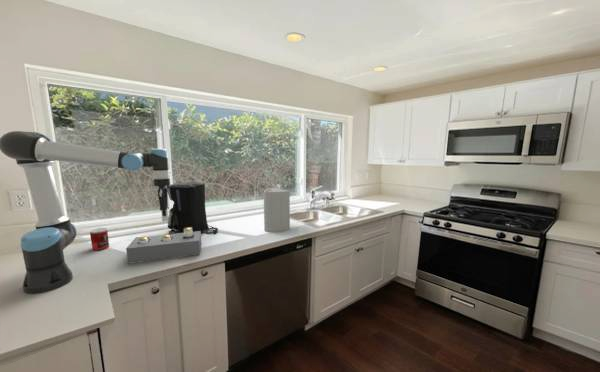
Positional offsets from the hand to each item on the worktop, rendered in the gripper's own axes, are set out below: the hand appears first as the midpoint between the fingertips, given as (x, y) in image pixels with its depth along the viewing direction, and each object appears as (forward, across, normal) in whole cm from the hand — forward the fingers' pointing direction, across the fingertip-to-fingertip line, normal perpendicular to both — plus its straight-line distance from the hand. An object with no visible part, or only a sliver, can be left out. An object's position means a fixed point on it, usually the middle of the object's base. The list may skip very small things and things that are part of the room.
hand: (165, 221), depth 136 cm
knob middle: (+16, 0, 0) cm, 16 cm away
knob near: (+16, 0, +11) cm, 19 cm away
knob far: (+13, 0, -11) cm, 17 cm away
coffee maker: (+19, +31, -9) cm, 37 cm away
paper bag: (+18, +20, -64) cm, 70 cm away
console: (+18, 0, 0) cm, 18 cm away
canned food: (+19, +19, +38) cm, 46 cm away
